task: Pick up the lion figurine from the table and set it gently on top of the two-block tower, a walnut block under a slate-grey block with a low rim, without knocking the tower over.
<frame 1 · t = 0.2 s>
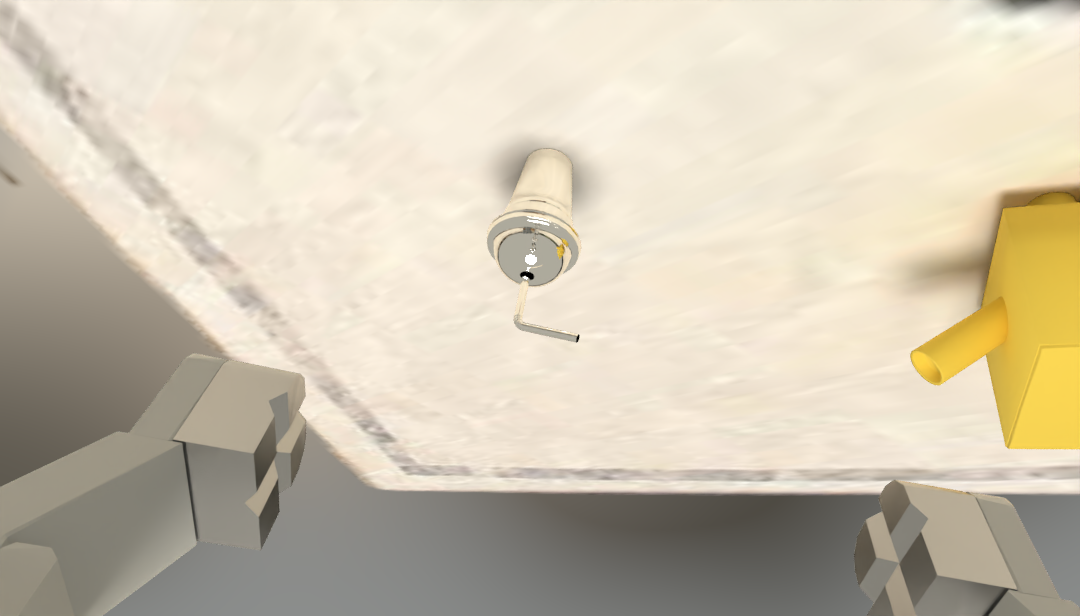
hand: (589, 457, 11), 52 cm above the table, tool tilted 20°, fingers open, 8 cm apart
cup with straw: (551, 166, 78), on the table
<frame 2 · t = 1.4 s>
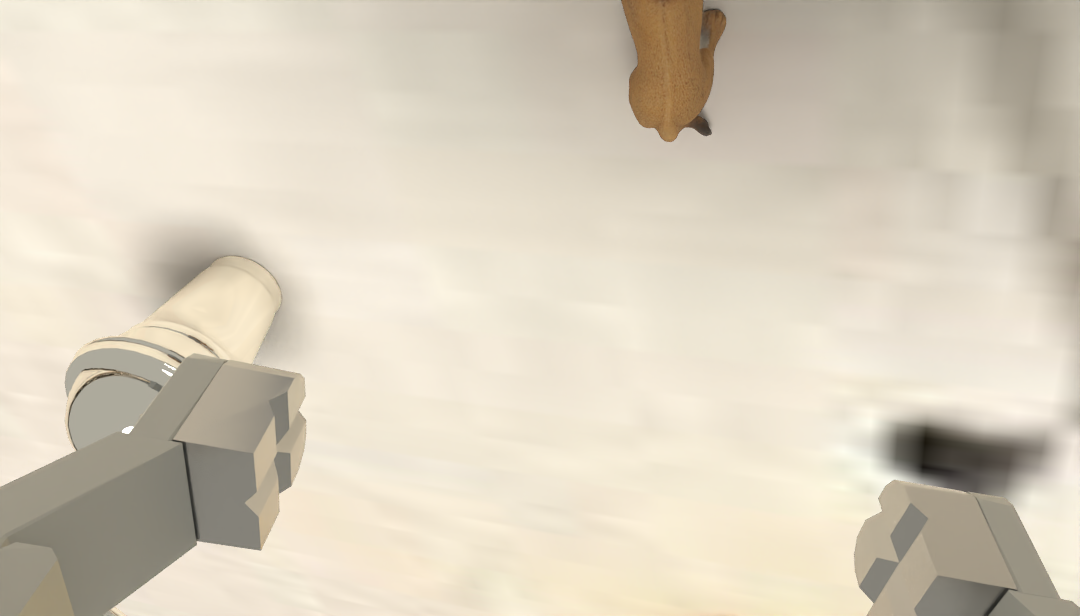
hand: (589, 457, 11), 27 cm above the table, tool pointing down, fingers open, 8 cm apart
cup with straw: (248, 289, 48), on the table
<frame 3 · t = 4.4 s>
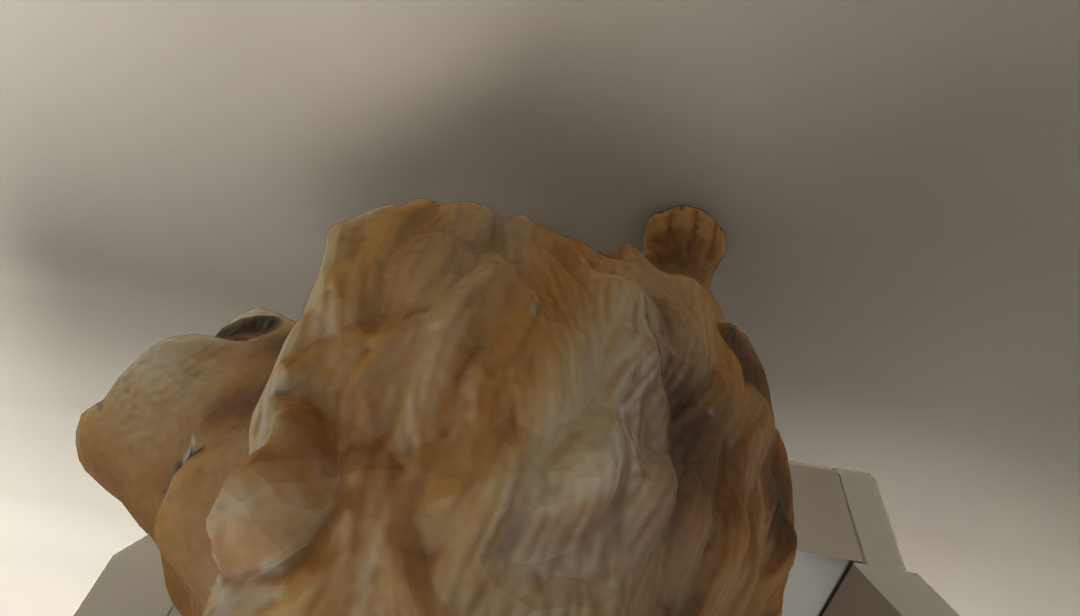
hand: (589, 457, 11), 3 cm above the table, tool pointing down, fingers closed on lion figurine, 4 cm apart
lion figurine: (587, 392, 14), on the table, touching gripper
when the fingers open (15 cm above the table, at t = 10.9 s): lion figurine moves 1 cm, resting on tower top.
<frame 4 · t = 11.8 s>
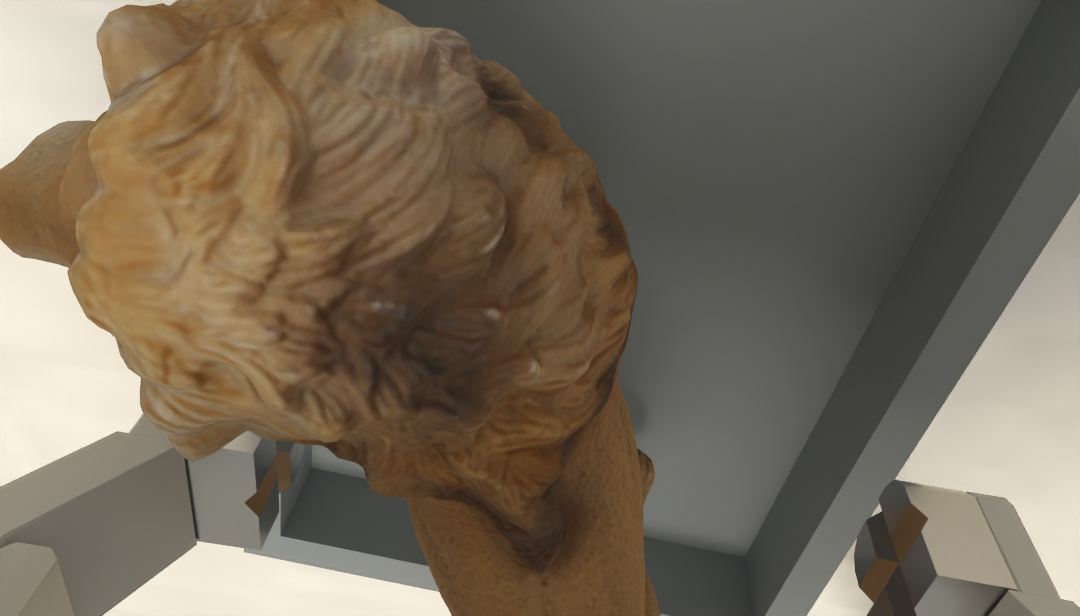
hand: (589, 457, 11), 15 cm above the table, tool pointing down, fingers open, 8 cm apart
tower top: (608, 147, 19), point 6 cm above the table, touching lion figurine, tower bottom
lion figurine: (487, 356, 15), point 12 cm above the table, touching tower top
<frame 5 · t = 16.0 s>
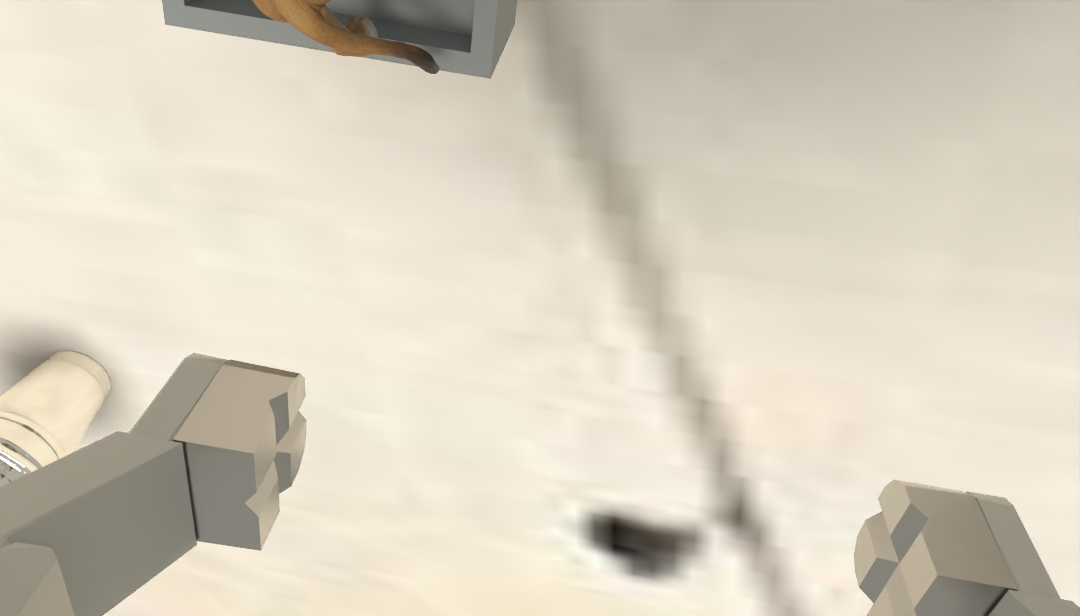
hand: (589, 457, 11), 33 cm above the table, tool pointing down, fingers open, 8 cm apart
cup with straw: (82, 377, 58), on the table
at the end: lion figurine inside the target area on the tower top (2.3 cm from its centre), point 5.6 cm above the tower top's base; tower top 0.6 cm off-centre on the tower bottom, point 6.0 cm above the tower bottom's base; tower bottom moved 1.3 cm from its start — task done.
